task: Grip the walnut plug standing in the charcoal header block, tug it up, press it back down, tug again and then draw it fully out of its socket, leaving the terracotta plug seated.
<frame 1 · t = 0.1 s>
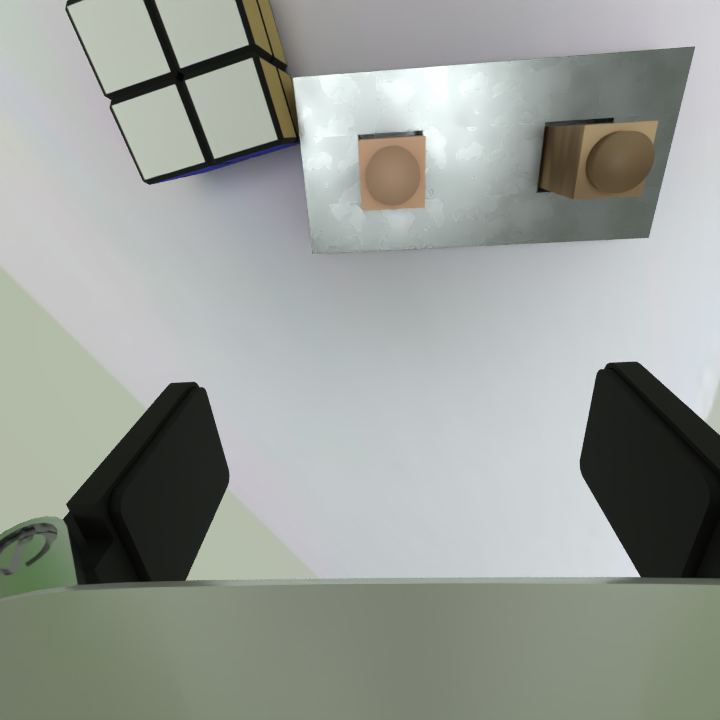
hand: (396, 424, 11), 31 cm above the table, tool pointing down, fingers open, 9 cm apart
header block: (469, 158, 36), on the table
puzzle cube: (231, 90, 35), on the table
walnut plug: (583, 157, 29), point 7 cm above the table, slide at 0.0 cm
terracotta plug: (391, 169, 30), point 7 cm above the table, slide at 0.0 cm
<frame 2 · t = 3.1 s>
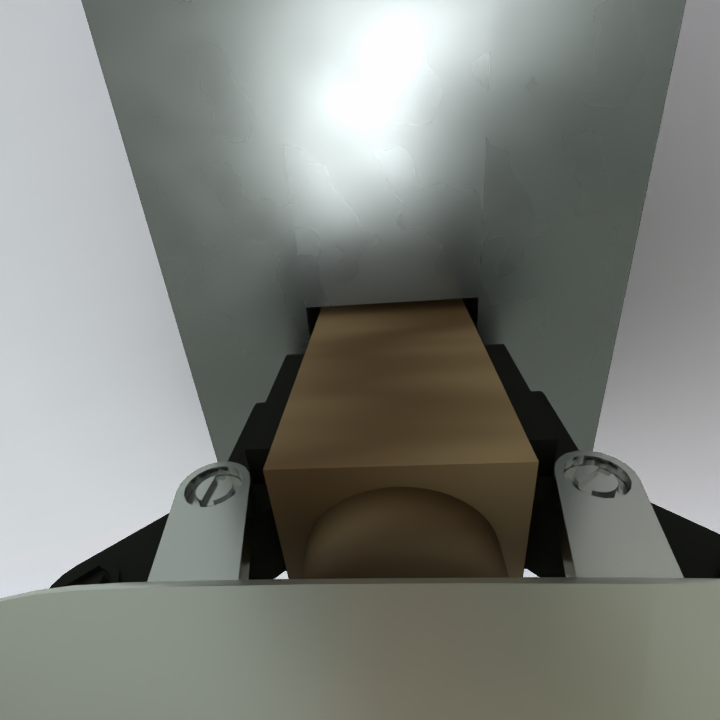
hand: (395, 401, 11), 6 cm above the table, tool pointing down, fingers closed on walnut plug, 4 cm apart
header block: (382, 127, 14), on the table
walnut plug: (395, 410, 11), point 7 cm above the table, slide at 0.0 cm, touching gripper
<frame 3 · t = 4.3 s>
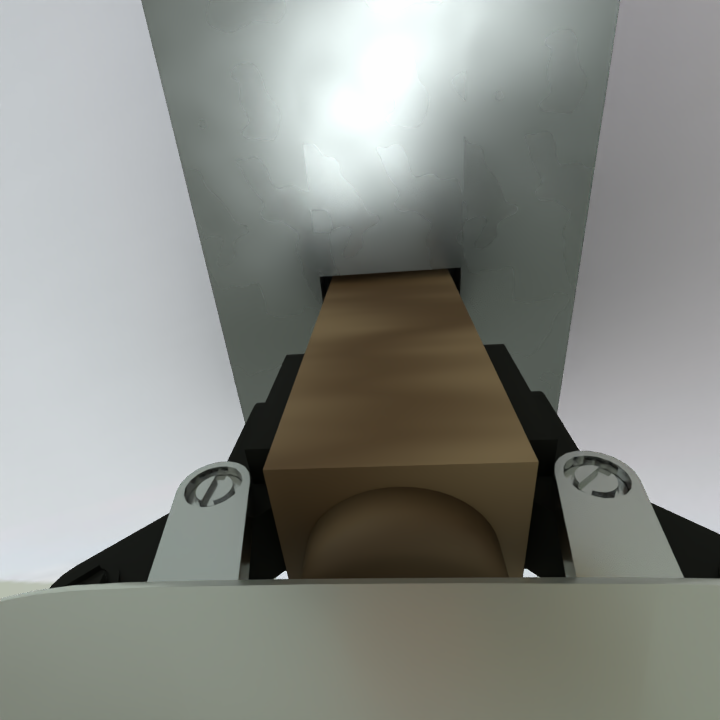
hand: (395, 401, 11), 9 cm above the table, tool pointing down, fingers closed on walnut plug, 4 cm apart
header block: (382, 128, 17), on the table
walnut plug: (395, 410, 11), point 10 cm above the table, slide at 2.9 cm, touching gripper
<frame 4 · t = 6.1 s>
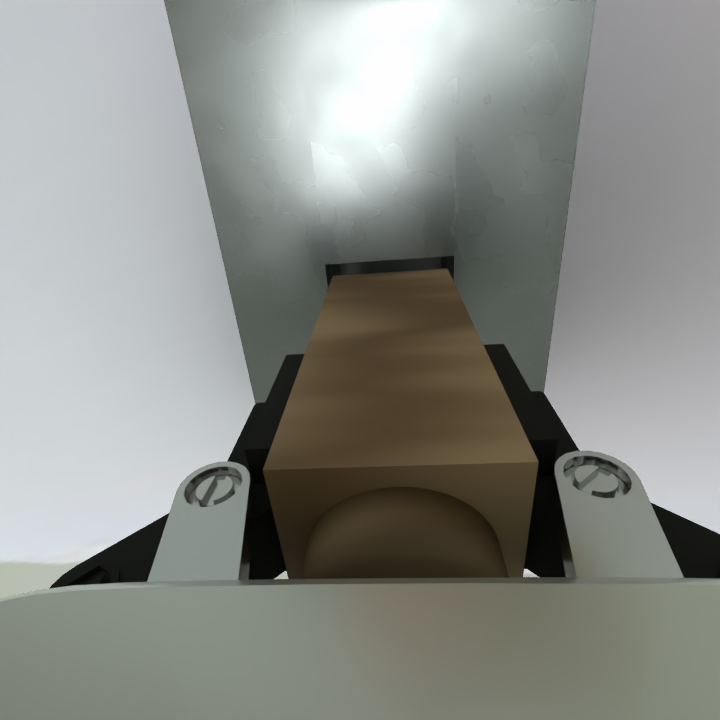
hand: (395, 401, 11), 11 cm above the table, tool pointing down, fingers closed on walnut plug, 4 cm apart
header block: (382, 128, 18), on the table
walnut plug: (395, 410, 11), point 11 cm above the table, slide at 4.4 cm, touching gripper
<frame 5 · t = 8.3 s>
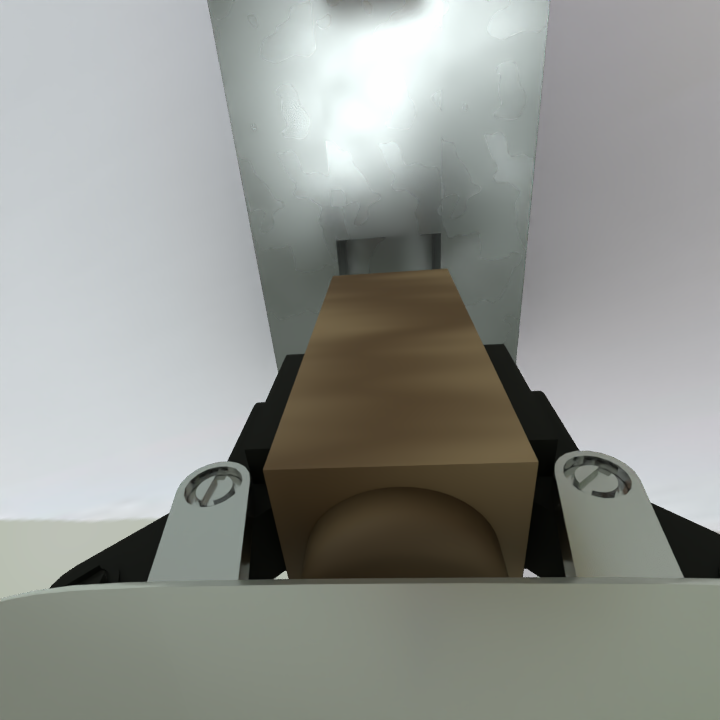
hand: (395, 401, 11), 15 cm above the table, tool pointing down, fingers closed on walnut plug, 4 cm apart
header block: (382, 129, 22), on the table
walnut plug: (395, 410, 11), point 15 cm above the table, slide at 8.4 cm, touching gripper
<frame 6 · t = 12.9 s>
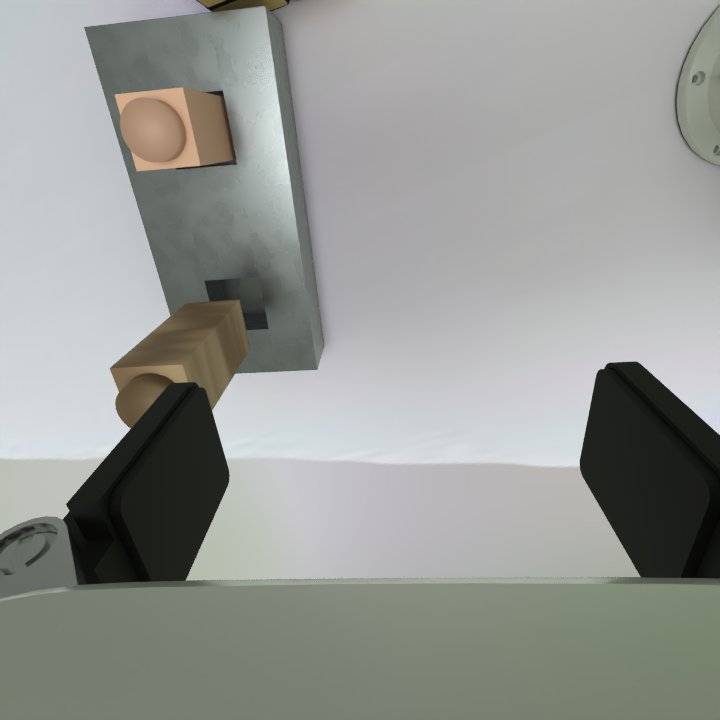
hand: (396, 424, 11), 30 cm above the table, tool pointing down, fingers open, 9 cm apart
header block: (238, 215, 38), on the table
walnut plug: (189, 361, 28), point 15 cm above the table, slide at 8.4 cm
terracotta plug: (189, 131, 29), point 7 cm above the table, slide at 0.0 cm
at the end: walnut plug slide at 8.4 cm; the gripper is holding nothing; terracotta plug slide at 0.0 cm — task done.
